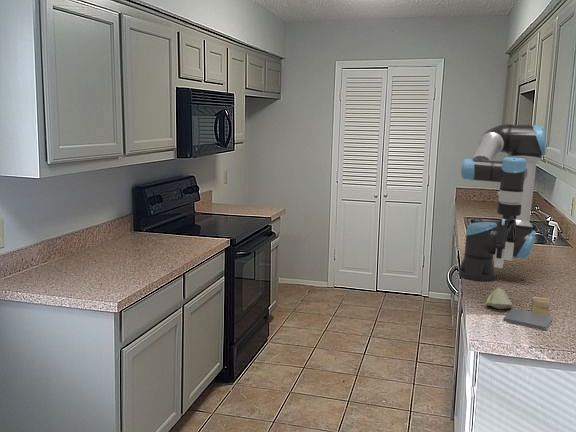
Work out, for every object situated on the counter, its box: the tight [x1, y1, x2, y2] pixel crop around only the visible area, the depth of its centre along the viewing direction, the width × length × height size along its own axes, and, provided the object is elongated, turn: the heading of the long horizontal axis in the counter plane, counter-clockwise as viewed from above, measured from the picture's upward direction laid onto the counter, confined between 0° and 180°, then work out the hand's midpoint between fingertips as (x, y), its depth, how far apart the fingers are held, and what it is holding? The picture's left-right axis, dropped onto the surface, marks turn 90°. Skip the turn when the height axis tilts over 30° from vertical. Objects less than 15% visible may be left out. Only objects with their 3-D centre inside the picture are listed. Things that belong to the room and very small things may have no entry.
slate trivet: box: [502, 307, 554, 331], centre depth 190 cm, size 13×13×1 cm
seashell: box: [485, 287, 514, 310], centre depth 201 cm, size 8×8×8 cm
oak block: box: [530, 296, 550, 315], centre depth 198 cm, size 5×5×5 cm
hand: (503, 263), depth 198 cm, fingers open, 13 cm apart
